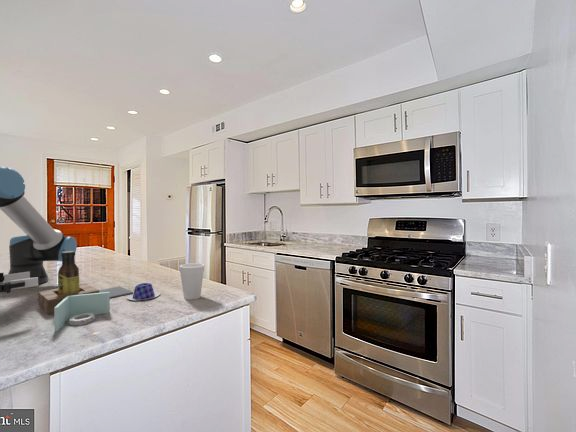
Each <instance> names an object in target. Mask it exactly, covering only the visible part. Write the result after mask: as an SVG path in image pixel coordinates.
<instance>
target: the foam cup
mask: <svg viewBox="0 0 576 432" xmlns="http://www.w3.org/2000/svg"><path fill="white" fill-rule="evenodd" d="M179 273H180V280H181V287H182V294H183V298H184V300H188V301H193V299H194V300H198V299H200V298H201V295H202V286H203V278H204V273H205V264H204V263H200V262H199V263H197V262H193V263H184V264H180V265H179Z"/></svg>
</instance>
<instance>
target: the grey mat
mask: <svg viewBox="0 0 576 432" xmlns="http://www.w3.org/2000/svg"><path fill="white" fill-rule="evenodd" d="M98 290H99V293H103V292H110V299H113V298H118V297H122V296H127V295H128V296H129V295H131V294H134V291H132V290H129V289H127V288H125V287H123V286H121V285H119V286H113V287H109V288H104V289H98Z"/></svg>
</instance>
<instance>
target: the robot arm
mask: <svg viewBox="0 0 576 432" xmlns="http://www.w3.org/2000/svg"><path fill="white" fill-rule="evenodd" d="M25 189H26V184H25V180H24V178H23V177H22V174H20V173H19V172H18V171H16V170H15V169H13V168H11V167H8V166H0V211H2V212H3V213H4V214H5V215H6V216H7V217H8V218H9V219H10V220H11V221H12V222H13V223H14V224H15V225H16V226H17V227H18V228H19V229H20V230H21V231H22V232H23V233H25V235H19V236H13V237H11V238H10V239H9V246H8V248H9V271H8V273H7V274H4V272H0V293H2V294H3V293H6V294H11V293H12V291H14V290H19V289H26V288H31V287H38V286H39V285H40V284H44V283H47V282H49V275H48V273H47V270H46V269H45V267H44V262H62V256H61V253H62V252H64V251H75V253H76V251H77V249H78V248H77V246H78V243H77V240H76V238H75V237H73V236H65V235H64V233H62V231H61V230H59V229H55V228H53V227H52V226H51V225H50V223H49V222H48V221H47V220H46V219H45V218H44V217H43V215H41V214H40V212H39V211H38V210H37V209H36V208H35V207H34V205H32V204H31V202H29V200H28V199H27V198H26V197H25V195H26V194H25V193H26V191H25Z"/></svg>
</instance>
